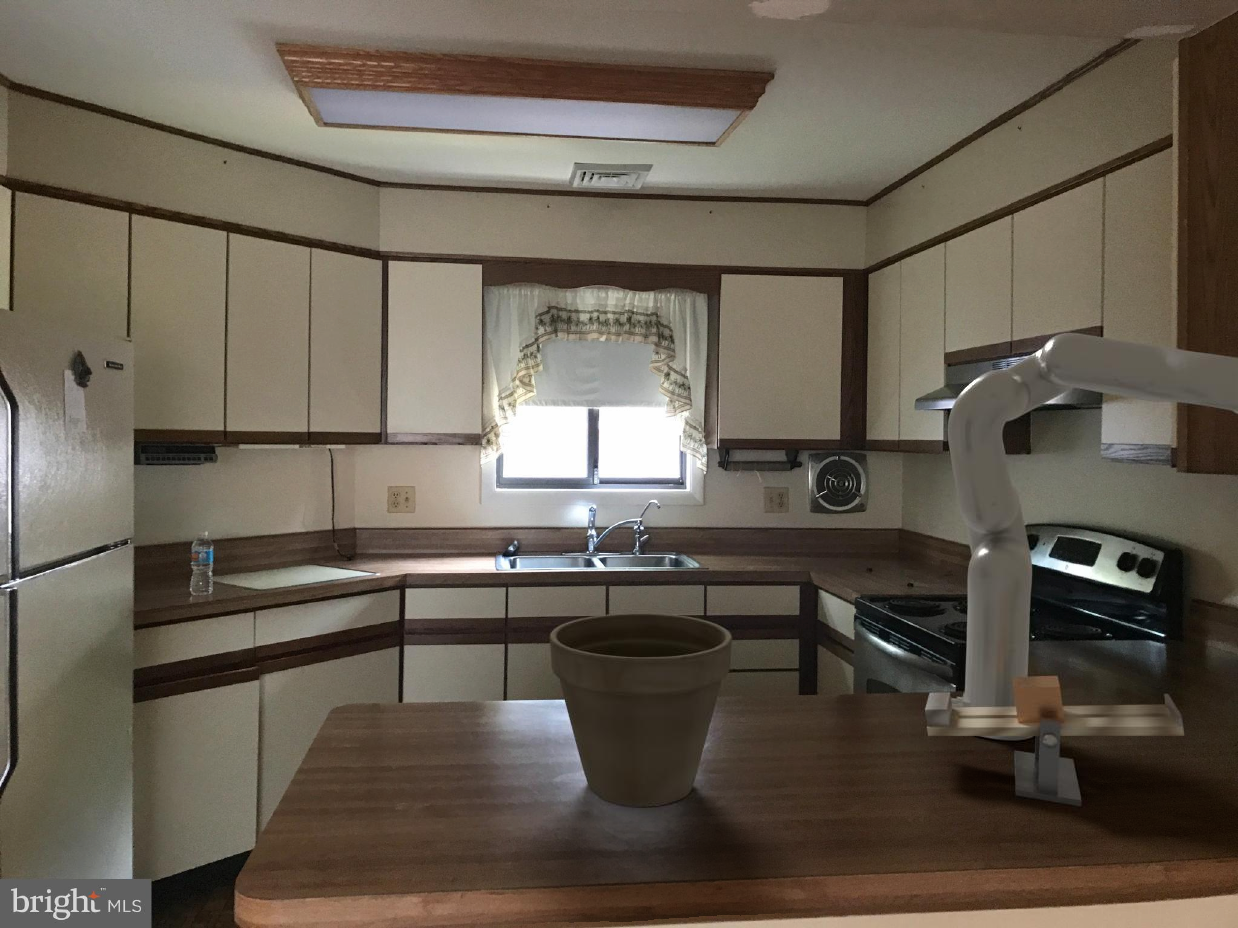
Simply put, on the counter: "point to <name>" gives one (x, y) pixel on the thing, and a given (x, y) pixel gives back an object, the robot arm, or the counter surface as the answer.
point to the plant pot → (640, 700)
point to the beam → (1077, 723)
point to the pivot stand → (1047, 769)
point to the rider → (1038, 699)
